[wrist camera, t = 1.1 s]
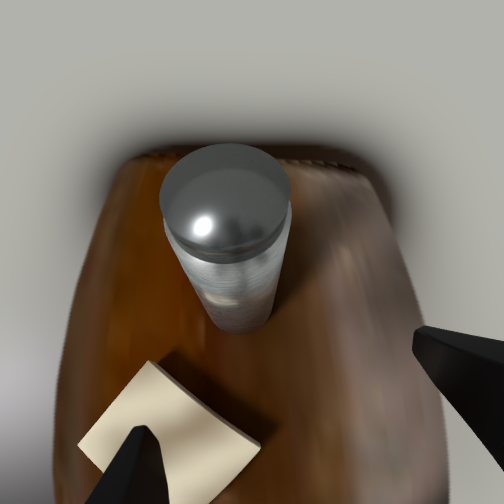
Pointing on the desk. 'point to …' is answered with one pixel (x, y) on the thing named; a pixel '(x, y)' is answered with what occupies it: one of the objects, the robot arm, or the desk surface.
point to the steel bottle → (229, 230)
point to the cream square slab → (173, 436)
